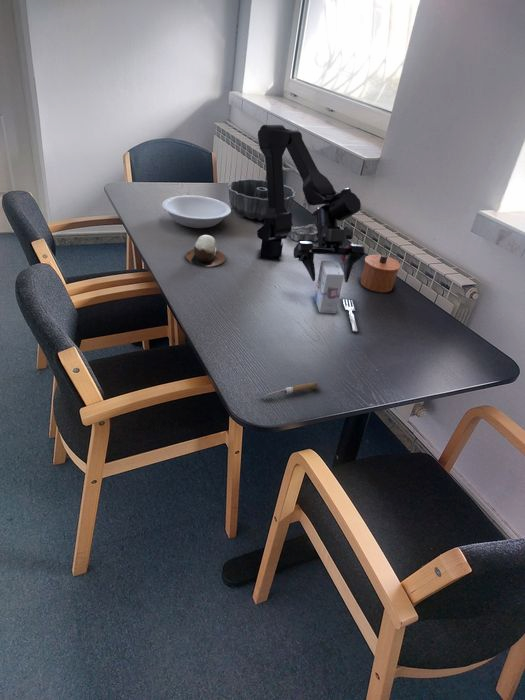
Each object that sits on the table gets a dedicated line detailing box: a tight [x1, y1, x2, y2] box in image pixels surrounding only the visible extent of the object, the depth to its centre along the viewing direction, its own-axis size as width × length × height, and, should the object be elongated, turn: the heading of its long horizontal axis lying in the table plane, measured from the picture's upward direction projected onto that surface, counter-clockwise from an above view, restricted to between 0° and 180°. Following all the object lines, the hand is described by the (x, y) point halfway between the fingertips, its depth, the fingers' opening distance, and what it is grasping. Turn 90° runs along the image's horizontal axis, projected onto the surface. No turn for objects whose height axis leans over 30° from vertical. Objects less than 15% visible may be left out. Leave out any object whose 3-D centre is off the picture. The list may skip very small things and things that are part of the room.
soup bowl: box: [161, 194, 232, 229], centre depth 172 cm, size 24×24×7 cm
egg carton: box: [288, 223, 318, 242], centre depth 174 cm, size 11×8×4 cm
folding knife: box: [260, 381, 319, 399], centre depth 100 cm, size 14×2×2 cm, turn 115°
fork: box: [342, 299, 359, 334], centre depth 132 cm, size 17×3×1 cm, turn 178°
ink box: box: [314, 260, 344, 314], centre depth 131 cm, size 9×5×12 cm, turn 5°
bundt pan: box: [226, 178, 297, 222], centre depth 188 cm, size 26×26×10 cm
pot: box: [359, 261, 399, 293], centre depth 148 cm, size 10×10×7 cm
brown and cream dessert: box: [185, 234, 226, 267], centre depth 150 cm, size 12×10×10 cm
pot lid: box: [364, 254, 402, 271], centre depth 145 cm, size 11×11×3 cm
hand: (330, 281), depth 130 cm, fingers open, 9 cm apart
